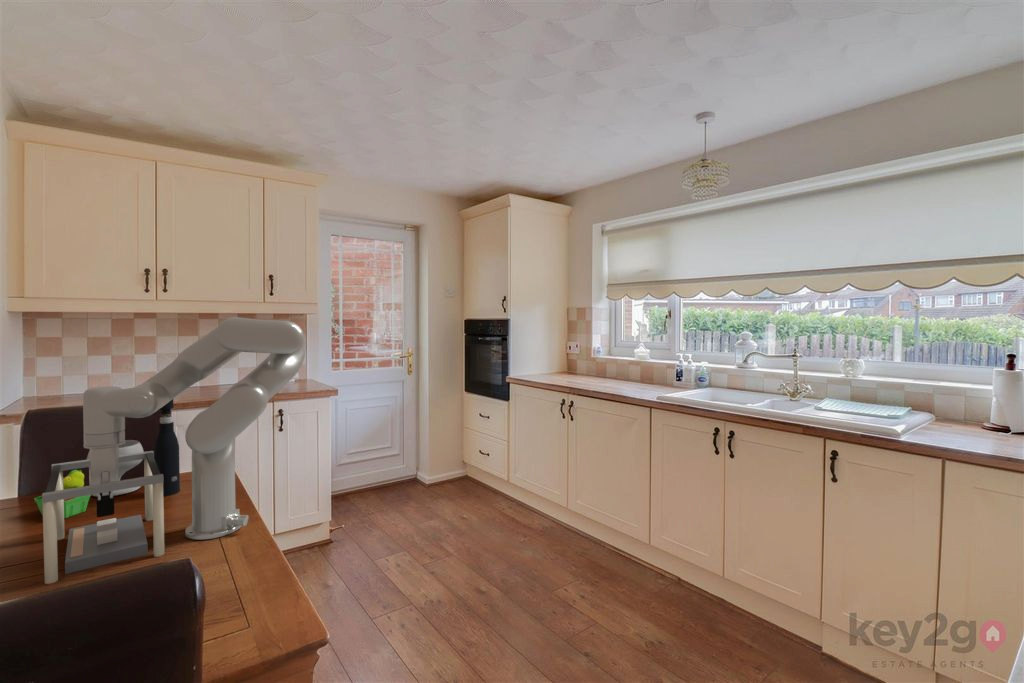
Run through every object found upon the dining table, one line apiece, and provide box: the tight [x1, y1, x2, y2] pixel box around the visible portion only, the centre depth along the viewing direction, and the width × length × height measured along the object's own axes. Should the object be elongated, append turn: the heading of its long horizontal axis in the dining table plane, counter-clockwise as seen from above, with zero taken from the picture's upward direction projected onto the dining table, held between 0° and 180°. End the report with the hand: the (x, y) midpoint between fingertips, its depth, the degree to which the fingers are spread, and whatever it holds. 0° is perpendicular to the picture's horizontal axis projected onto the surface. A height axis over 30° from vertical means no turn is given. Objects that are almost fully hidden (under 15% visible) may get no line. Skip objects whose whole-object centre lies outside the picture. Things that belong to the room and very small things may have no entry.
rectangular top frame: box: [41, 450, 164, 503], centre depth 114 cm, size 28×20×2 cm
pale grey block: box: [97, 528, 118, 545], centre depth 111 cm, size 2×4×2 cm, turn 131°
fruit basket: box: [34, 469, 92, 519], centre depth 135 cm, size 11×9×11 cm
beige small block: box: [96, 517, 117, 532], centre depth 117 cm, size 2×4×2 cm, turn 131°
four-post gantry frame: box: [42, 459, 165, 585], centre depth 114 cm, size 28×20×17 cm
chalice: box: [86, 439, 145, 498], centre depth 152 cm, size 14×14×15 cm
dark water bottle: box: [153, 399, 181, 497], centre depth 150 cm, size 6×6×30 cm
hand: (105, 514), depth 114 cm, fingers closed
